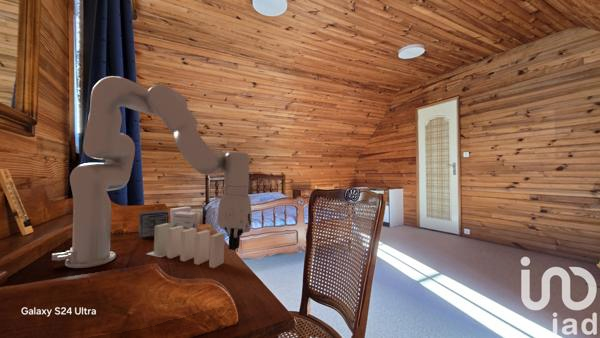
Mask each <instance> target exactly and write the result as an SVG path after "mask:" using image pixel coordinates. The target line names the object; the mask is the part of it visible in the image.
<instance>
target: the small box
mask: <svg viewBox="0 0 600 338" xmlns="http://www.w3.org/2000/svg"><path fill="white" fill-rule="evenodd" d="M138 215H139V219H138V221H139V223H138V236H139V238H140V239H148V238H154V235H155V226H156V225H161V224H165V223H169V211H167V210H165V209H162V210H152V211H140V212H139V214H138Z"/></svg>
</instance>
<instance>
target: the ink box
mask: <svg viewBox="0 0 600 338" xmlns="http://www.w3.org/2000/svg"><path fill="white" fill-rule="evenodd" d="M198 215H199V213H198V212H193V211H191V212H182V211H180V212H177V213H174V214H173V227H177V226H183V230H187V229H190V228H196V233H198V221H199V219H198V218H199V217H198Z"/></svg>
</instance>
